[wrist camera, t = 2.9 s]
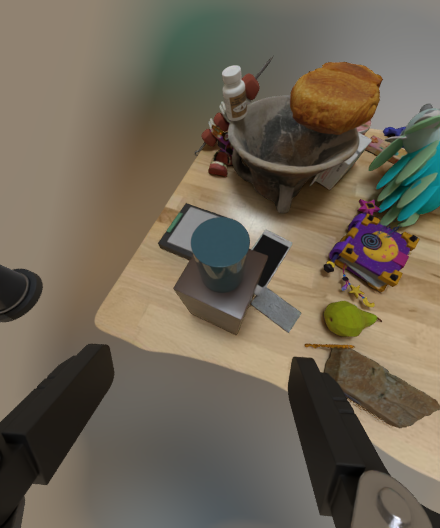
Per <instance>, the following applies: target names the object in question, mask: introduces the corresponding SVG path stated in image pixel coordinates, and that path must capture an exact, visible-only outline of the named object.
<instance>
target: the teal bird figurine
mask: <svg viewBox="0 0 440 528" xmlns="http://www.w3.org/2000/svg"><path fill="white" fill-rule="evenodd" d="M385 141H386V142H390V143H391V144H390V145H388V146H387V147H386V148H385V149H384V150H383V151H382V152H381V153H380V154H379V155H378V156H377V157H376V158H375V159H374V161H373V162H372V163H371V165H370V166H369V171H372V170H374V169H376V168H378V167H380V166H381V165H382V164H384V163H385V162H386V161H388V160H389V159H390V158H391V157H392V156H394V155H395V154H396V153H397V152H398V151H399V150H400V149H401V148H402V147H403V146H404V149H405V150H406V152H407V154H406V155H404V156H403V157H402V158H401V159H399V160H398V161H397V162H396V163H395V164H394V165H393V166H392V167H391V168H390V169H389V170H388V171H387V172H386V174H385V175H384V176H383V177H382V178H381V180H380V181H379V183H378V184H377V186H376V189H380V188H381V187H383V186H384V185H385V184H387V183H388V182H389V181H390V180H391V179H392V178H393V177H394V176H395V175H396V174H397V175H396V176H395V177H394V178H393V179H392V180H391V181H390V182H389V183H388V184H387V185H386V187H385V188H384V189H383V190H382V192H381V193H380V195H379V197H378V199H377V201H381V200H383V199H384V198H385V199H384V201H383V202H382V203H381V205H380V207H379V208H380V210H379V211H378V213H381V212H383V211H384V210H386V209H387V208H389V207H390V206H391V205H392V204H393V203H395V202H396V201H397V200H398V201H397V202H396V203H395V204H394V205H393V206H392V207H391V208H390V209H389V210H388V211H387V213H386V214H385V215H384V216H383V218H382V219H381V221H380V222H379V224H381V225H385V226H387V225H388V224H390V223H391V222H392V221H393V220H394V219H396V218H397V217H398V218H397V220H398V221H403V220H404V221H403V222H402V223H398V226H402V227H405V226H409V225H412V224H414V223H415V222H416V221H417V220H418V218H419V215H420V214H425V213H428V212H431V211H433V210H435V209H436V208H438V207H439V206H440V109H436V108H433V107H432V105H431V104H426V105H424V106H423V107H422V108H421V110H420V112H419V113H418V114H417V115H416V116H414V117H413V118H412V120H411V121H410V122H409V123H408V125H407V126H406V128H405V130H403V131H402V132H401V134H400V136H395V137H390V138H387V139H385ZM387 216H388V217H387Z"/></svg>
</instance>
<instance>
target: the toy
mask: <svg viewBox="0 0 440 528" xmlns="http://www.w3.org/2000/svg"><path fill="white" fill-rule="evenodd" d="M370 139H371V140H372V141H371V143H370V144H369V145H368V146H367V148H366V150H368V151H370V152H372V153H374V154H376V155H379V154H380V153H381V152H382V151H383V150H384V149H385V148H386V147H387V146H388V145H390V144H391V143H389V142H386V141H384V140H382V139H380V138H378V137H376V136H372V137H371V138H370ZM406 154H407V152H406V150H403V149H400V150H399V151H398V152H397V153H396V154H395V155H394V156H392V157H391V158H390V159H389V160H388V161H390V162H392V163H394V164H395V163H396V162H397V161H398V160H399V159H401V158H402V157H403V156H404V155H406Z"/></svg>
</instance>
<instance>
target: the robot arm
mask: <svg viewBox="0 0 440 528" xmlns="http://www.w3.org/2000/svg"><path fill="white" fill-rule="evenodd" d="M29 290H30V281H29V279H28V277H27V276H26V275H24V274H21V273H19V272H16V271H13V270H11V269H9V268H7V267H4V266H2V265H0V314H4V313H7V312H9V311H11V310H13V309H15V308H16V307H17V306H19V305H20V304H21V303H22V302H23V301H24V299H25V298H26V296H27V295H28V293H29ZM113 378H114V368H113V362H112V357H111V352H110V348H109V346H108V345H104V344H88V345H86V346H85V347H84V348H83V349H82V350H81V351H80V352H79V353H78V354H77V355H76V356H72V357H71V358H69V359H68V360H66V361H64V362H63V363H61V364H60V365H59V366H58V367H57V368H56V369H54V371H53V372H52V373H50V374H49V375H48V377H47V379H44V380H43V381H42V382H41V383H40V384H39V385H38V386H37V388H36V389H34V390H33V391H32V392H31V393H30V394H29V395H28V396H27V397H26V398H25V399H24V400H23V401H22V402H21V403H20V404H19V405H18V406H17V407H15V408H14V410H13V411H11V412H10V413H9V414H8V415H7V416H6V417H5V418H4V419H3V420H2V421H1V422H0V528H21V523H22V517H23V511H24V505H25V497H24V495H25V494H26V492H27V491H28V489H29V488H30V486H31V485H32V484H41V485H47V484H48V483H49V481H50V480H51V478H52V477H53V475H54V474H55V472H56V471H57V469H58V467H59V466H60V464H61V463H62V461H63V459H64V458H65V457H66V455H67V453H68V452H69V450H70V449H71V447H72V446H73V444H74V443H75V441H76V439H77V438H78V436H79V435H80V433H81V432H82V430H83V428H84V427H85V425H86V424H87V422H88V420H89V419H90V418H91V416H92V415H93V413H94V411H95V410H96V408H97V407H98V405H99V404H100V402H101V401H102V399H103V397H104V395H105V394H106V393H107V391H108V390H109V388H110V386H111V384H112V382H113ZM288 395H289V401H290V404H291V409H292V412H293V416H294V420H295V423H296V427H297V431H298V435H299V438H300V442H301V446H302V450H303V453H304V457H305V461H306V464H307V468H308V472H309V476H310V480H311V483H312V487H313V491H314V495H315V498H316V502H317V506H318V510H319V513H320V515H324V516H332V517H333V520H334V524H335V527H336V528H440V514H438V513H436V512H434V511H432V510H430V509H428V508H426V507H425V506H423V505H421V504H420V503H419V502H418V501H417V499H416V498H415V497H414V496H413V494H412V493H411V492H410V491H409V490H408V489H407V488H406V487H404V486H403V485H402V484H401V483H400V482H398V481H397V480H396V479H394V478H393V477H391V475H390V474H389V473H388V471H387V469H386V468H385V466H384V464H383V463H382V461H381V459H380V457H379V456H378V454H377V452H376V450H375V448H374V446H373V445H372V443H371V441H370V439H369V437H368V436H367V434H366V432H365V430H364V428H363V426H362V425H361V423H360V421H359V419H358V417H357V416H356V414H354V410H353V408H352V407H351V405H350V403H349V402H348V401H347V398H346V396H345V394H344V392H343V390H342V388H341V387H340V385H339V384H338V383H337V382H336V381H335V380H334V379H333V378H332V377H331V376H330V375H329V374H328V373H322V372H320V371H319V369H318V367H317V365H316V363H315V361H314V359H313V358H305V357H293V359H292V363H291V369H290V376H289V382H288Z"/></svg>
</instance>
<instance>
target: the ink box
mask: <svg viewBox="0 0 440 528" xmlns="http://www.w3.org/2000/svg"><path fill="white" fill-rule="evenodd" d="M358 135H359V146H358V149H357V151H356V152H355V154H354V155H353V156H352V157H351V158H349V159H348V160H346V161H344V162H343V163H341V164H339V165H337V166H335V167H332V168H330V169H327V170H325V171H323V172H321V173H319V174H317V175H316V176H315V178H314V179H313V181H312V183H311V184H310V186H311V185H312V184H313V183H314V182H315V181H317V182H318V183H320V184H321V185H323V186H324V187H326V188H327V189H329V190H330V189H331V188H332V187H333V186H334V185H335V184H336V183H337V182H338V181H339V180H340V179H341V178H342V177H343V175H344V174H345V173H346V172H347V171H348V170H349V169H350V168H351V167H352V166H353V164H354V163H355V162H356V160H357V159H358V158H359V157H360V155H361V154H362V153H363V152H364V150H365V149H366V148H367V146H368V145H369V144H370V143H371V141H372V140H371V139H370V138H368V137H366V136H364V135H362V134H360V133H358Z"/></svg>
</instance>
